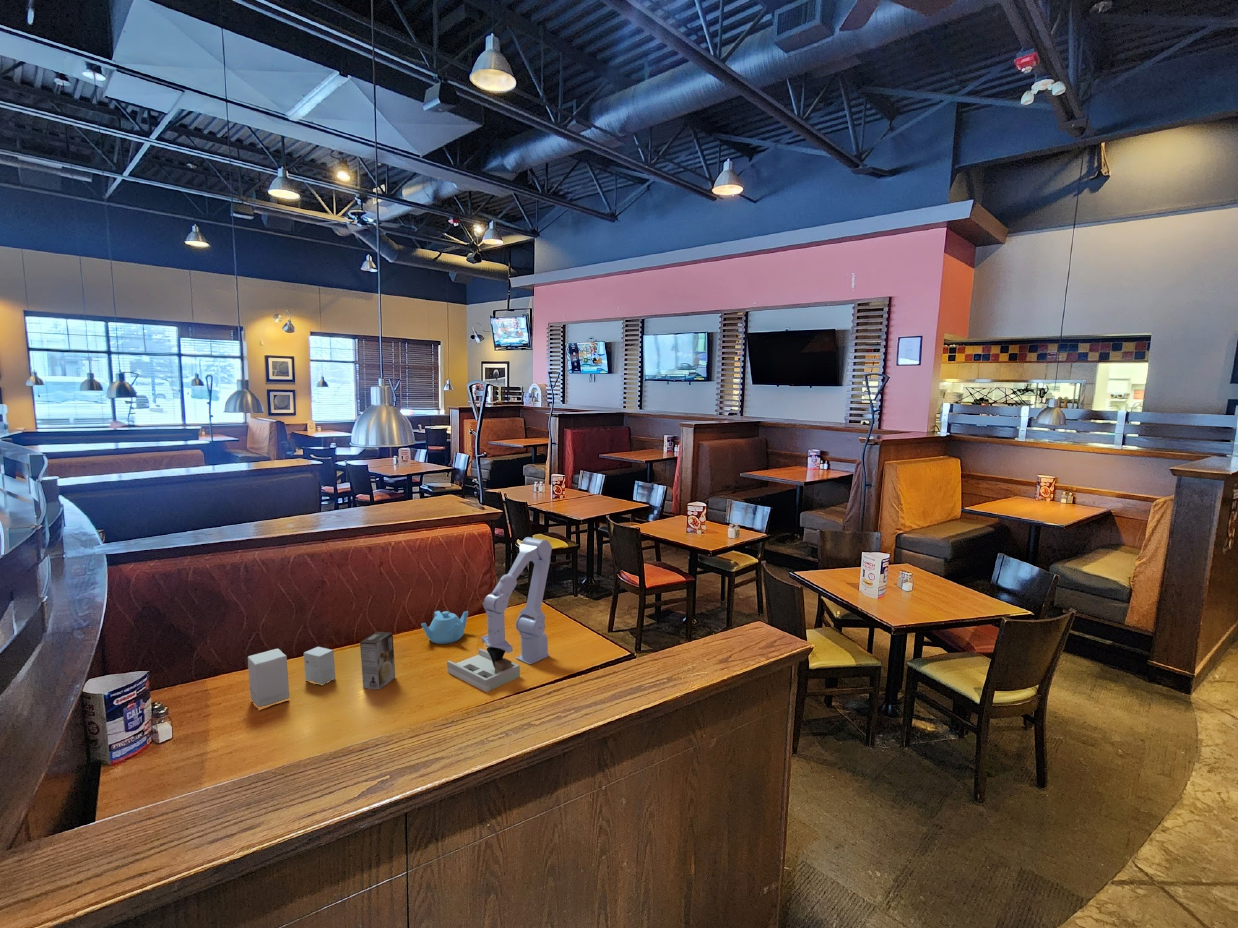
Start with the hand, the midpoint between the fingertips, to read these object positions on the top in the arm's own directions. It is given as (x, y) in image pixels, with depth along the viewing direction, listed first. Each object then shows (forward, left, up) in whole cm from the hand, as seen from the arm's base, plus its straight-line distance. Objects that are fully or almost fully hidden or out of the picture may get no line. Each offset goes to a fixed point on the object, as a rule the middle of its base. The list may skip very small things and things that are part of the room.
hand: (497, 667), depth 198 cm
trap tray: (+3, -4, -3) cm, 6 cm away
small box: (+41, -43, -3) cm, 60 cm away
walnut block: (0, +3, -1) cm, 4 cm away
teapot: (-7, -42, -3) cm, 43 cm away
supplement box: (+57, -41, -3) cm, 70 cm away
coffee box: (+29, -26, -3) cm, 39 cm away
